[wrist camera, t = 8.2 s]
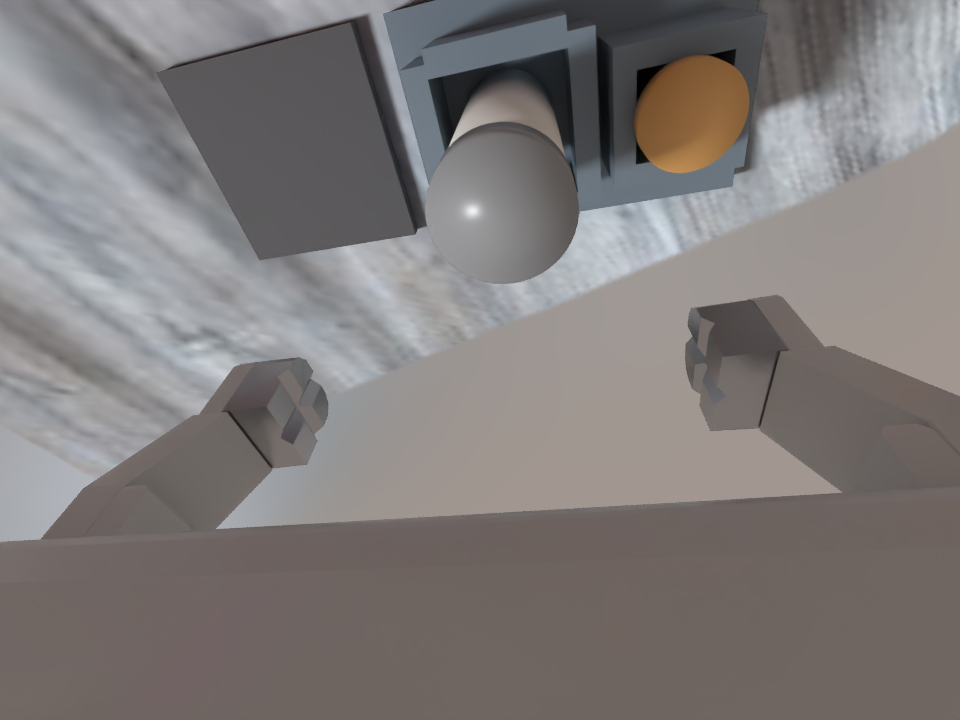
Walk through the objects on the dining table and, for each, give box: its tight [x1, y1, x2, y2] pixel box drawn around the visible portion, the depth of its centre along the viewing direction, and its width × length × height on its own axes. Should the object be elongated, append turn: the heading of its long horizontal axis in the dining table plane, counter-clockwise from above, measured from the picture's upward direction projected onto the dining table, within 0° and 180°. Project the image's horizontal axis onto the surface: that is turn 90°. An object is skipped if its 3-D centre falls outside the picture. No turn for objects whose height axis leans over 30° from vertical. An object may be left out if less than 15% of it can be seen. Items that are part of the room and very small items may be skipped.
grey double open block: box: [383, 0, 767, 214], centre depth 24 cm, size 18×12×6 cm, turn 102°
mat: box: [156, 21, 417, 260], centre depth 29 cm, size 12×12×1 cm
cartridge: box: [425, 68, 579, 284], centre depth 21 cm, size 5×5×14 cm
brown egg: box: [634, 54, 749, 173], centre depth 22 cm, size 4×4×6 cm
